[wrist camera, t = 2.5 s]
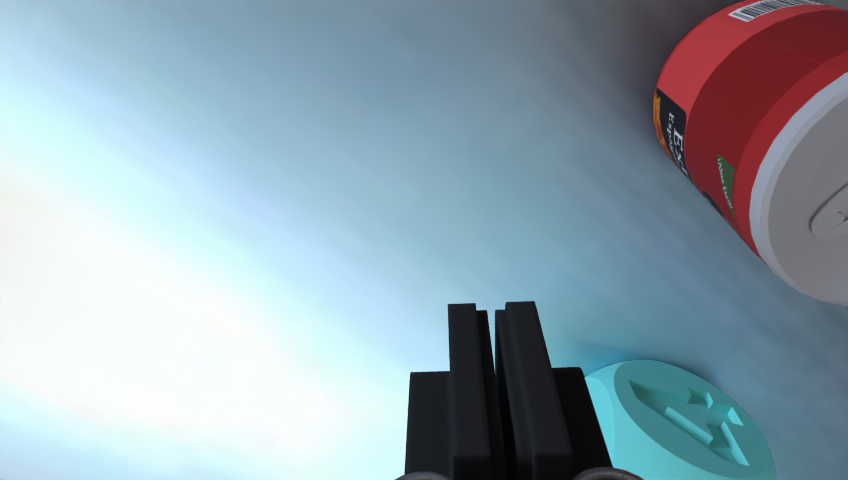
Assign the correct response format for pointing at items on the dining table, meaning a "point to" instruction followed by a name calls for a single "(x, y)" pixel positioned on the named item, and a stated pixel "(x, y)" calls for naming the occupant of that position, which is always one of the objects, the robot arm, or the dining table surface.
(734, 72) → the canned food
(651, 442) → the decorative dice
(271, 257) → the dining table surface
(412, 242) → the dining table surface
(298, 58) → the dining table surface
